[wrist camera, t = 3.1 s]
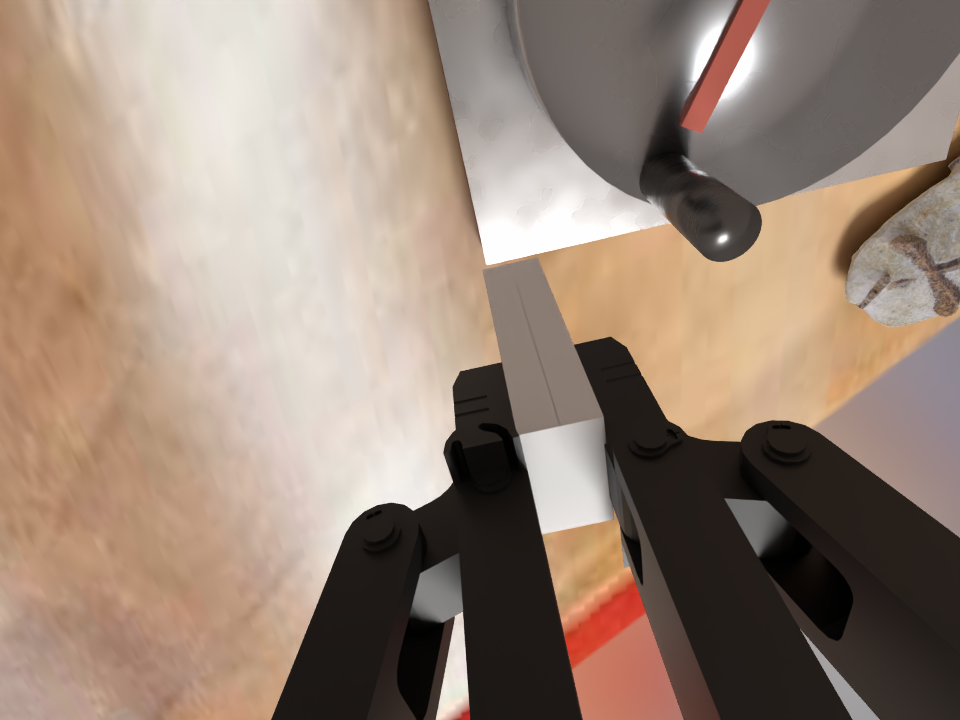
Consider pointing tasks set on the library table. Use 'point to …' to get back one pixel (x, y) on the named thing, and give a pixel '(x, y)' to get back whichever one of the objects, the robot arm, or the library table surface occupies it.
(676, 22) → the crank handle wheel
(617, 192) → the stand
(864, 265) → the stone
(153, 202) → the library table surface
